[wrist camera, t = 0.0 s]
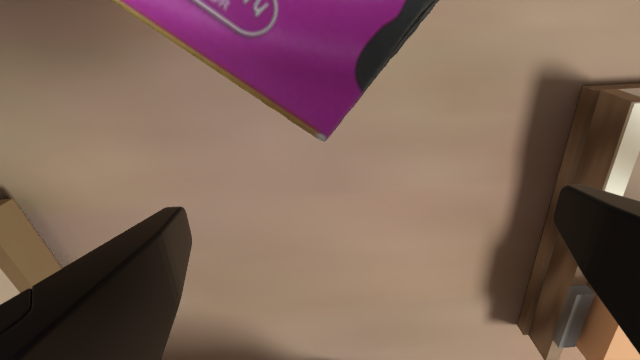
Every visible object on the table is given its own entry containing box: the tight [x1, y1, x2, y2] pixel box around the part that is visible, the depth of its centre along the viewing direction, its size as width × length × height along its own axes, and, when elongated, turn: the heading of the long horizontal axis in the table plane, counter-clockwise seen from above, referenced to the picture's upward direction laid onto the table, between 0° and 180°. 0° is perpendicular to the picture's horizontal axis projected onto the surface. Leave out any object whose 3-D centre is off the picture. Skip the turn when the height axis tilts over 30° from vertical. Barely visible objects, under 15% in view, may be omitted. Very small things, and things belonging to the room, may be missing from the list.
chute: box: [517, 83, 640, 360], centre depth 26 cm, size 20×10×4 cm, turn 2°
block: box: [576, 281, 640, 360], centre depth 27 cm, size 6×6×5 cm
